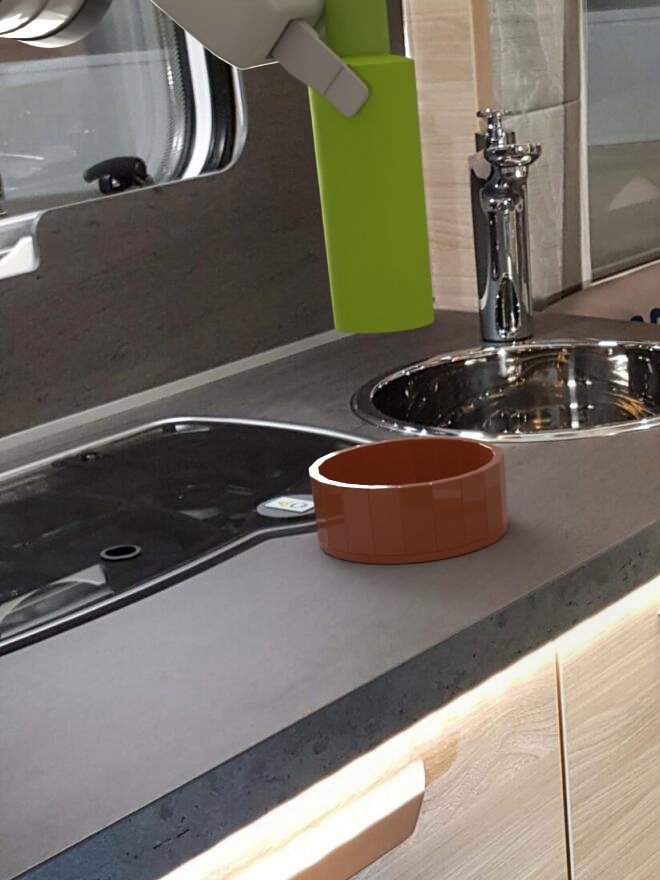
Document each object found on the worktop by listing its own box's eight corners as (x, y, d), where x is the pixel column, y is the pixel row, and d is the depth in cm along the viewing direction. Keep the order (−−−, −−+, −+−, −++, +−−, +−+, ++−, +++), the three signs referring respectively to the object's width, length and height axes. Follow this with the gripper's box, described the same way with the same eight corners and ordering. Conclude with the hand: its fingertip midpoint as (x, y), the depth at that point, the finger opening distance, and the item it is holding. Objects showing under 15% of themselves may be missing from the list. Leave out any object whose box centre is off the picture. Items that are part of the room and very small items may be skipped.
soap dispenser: (468, 317, 91) (440, -101, 80) (374, 337, 87) (332, -99, 76) (407, 310, 95) (372, -90, 84) (315, 328, 91) (266, -88, 80)
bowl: (296, 565, 94) (285, 490, 92) (346, 508, 104) (337, 439, 101) (489, 562, 92) (483, 485, 89) (521, 504, 102) (517, 433, 99)
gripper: (209, -50, 91) (388, 131, 94) (70, -48, 74) (293, 170, 78) (270, -152, 87) (453, 39, 91) (138, -174, 71) (368, 60, 75)
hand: (379, 100), depth 84 cm, fingers closed on soap dispenser, 6 cm apart
